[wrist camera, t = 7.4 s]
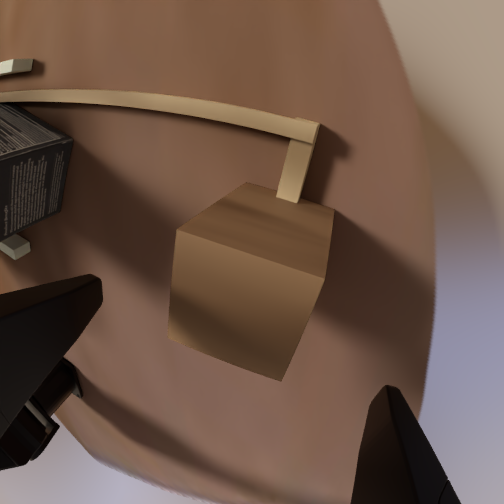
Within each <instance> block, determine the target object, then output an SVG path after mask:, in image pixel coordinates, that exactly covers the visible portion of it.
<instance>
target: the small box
mask: <svg viewBox="0 0 504 504" xmlns="http://www.w3.org/2000/svg"><path fill="white" fill-rule="evenodd" d="M72 145H73V139H72V138H71V137H69V136H67V135H66V134H64V133H63V132H61V131H59V130H57V129H56V128H54V127H52V126H51V125H49V124H47V123H46V122H44V121H42V120H40V119H39V118H37V117H35V116H33V115H32V114H30V113H28V112H27V111H25V110H23V109H21V108H20V107H18V106H16V105H14V104H13V103H11V102H2V103H0V242H2V241H3V240H5V239H7V238H9V237H11V236H13V235H15V234H16V233H18V232H20V231H22V230H24V229H26V228H28V227H30V226H32V225H34V224H36V223H38V222H40V221H42V220H44V219H46V218H48V217H50V216H52V215H55V214H57V213H59V212H60V209H61V203H62V197H63V191H64V185H65V179H66V174H67V168H68V163H69V158H70V154H71V149H72Z"/></svg>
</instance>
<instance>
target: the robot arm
mask: <svg viewBox="0 0 504 504" xmlns="http://www.w3.org/2000/svg"><path fill="white" fill-rule="evenodd" d="M102 302H103V292H102V281H101V279H100V278H98V277H96V276H94V275H92V274H87V275H83V276H78V277H74V278H69V279H65V280H61V281H56V282H52V283H47V284H43V285H39V286H34V287H30V288H26V289H21V290H17V291H13V292H9V293H4V294H0V471H1V470H5V469H9V468H14V467H19V466H23V465H25V464H27V462H28V461H29V460H31V461H32V460H34V459H36V458H37V457H38V456H39V455H40V454H41V453H42V452H43V451H44V449H45V448H46V446H47V445H48V443H49V442H50V440H51V439H52V438H53V436H54V435H55V433H56V432H57V430H58V429H59V427H60V426H59V425H58V424H57V423H56V422H55V421H54V420H53V419H52V418H51V416H52V414H53V413H54V412H55V411H56V410H57V409H58V408H59V407H60V405H61V404H62V403H63V402H64V401H65V400H66V399H67V398H68V397H69V395H70V394H71V393H73V394H74V395H76V396H77V397H79V398H82V397H83V394H82V391H81V388H80V385H79V382H78V379H77V375H76V372H75V369H74V367H73V366H72V365H71V364H70V363H68V362H67V361H65V360H64V359H62V357H63V356H64V355H65V354H66V352H67V351H68V350H69V349H70V348H71V346H72V345H73V344H74V343H75V342H76V340H77V339H78V338H79V336H80V335H81V334H82V332H83V331H84V329H85V328H86V326H87V325H88V323H89V322H90V321H91V319H92V318H93V316H94V315H95V313H96V312H97V311H98V309H99V308H100V306H101V305H102ZM447 479H448V477H447V476H446V474H445V472H444V470H443V468H442V466H441V464H440V462H439V460H438V458H437V456H436V454H435V452H434V451H433V449H432V447H431V445H430V443H429V441H428V440H427V438H426V436H425V434H424V432H423V430H422V428H421V427H420V425H419V423H418V421H417V420H416V418H415V416H414V414H413V412H412V411H411V409H410V407H409V405H408V404H407V402H406V400H405V398H404V397H403V395H402V393H401V392H400V390H399V389H398V388H397V387H394V386H390V385H385V386H384V387H383V388H382V389H381V390H380V391H379V393H378V394H377V395H376V397H375V398H374V399H373V400H372V402H371V404H370V406H369V410H368V415H367V419H366V424H365V428H364V433H363V437H362V441H361V445H360V450H359V455H358V462H357V469H356V475H355V481H354V487H353V493H352V499H351V504H461V503H460V501H459V499H458V497H457V495H456V493H455V491H454V489H453V487H452V485H451V483H450V481H449V480H447Z"/></svg>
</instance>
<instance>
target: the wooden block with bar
mask: <svg viewBox="0 0 504 504" xmlns="http://www.w3.org/2000/svg"><path fill="white" fill-rule="evenodd" d="M21 101H45V102H75V103H91V104H105V105H116V106H126V107H135V108H143V109H151V110H158V111H165V112H172V113H178V114H184V115H190V116H196V117H202V118H207V119H212V120H217V121H222V122H227V123H232V124H237V125H241V126H246V127H250V128H254V129H259V130H263V131H267V132H271V133H275V134H279V135H283V136H286V137H290V138H291V139H290V143H289V147H288V151H287V155H286V159H285V163H284V167H283V171H282V175H281V179H280V183H279V187H278V191H275V190H272V189H268V188H265V187H261V186H258V185H254V184H251V183H247V182H246V183H245V184H243V185H241V186H240V187H238V188H237V189H235V190H234V191H232V192H231V193H229V194H228V195H226V196H225V197H223V198H222V199H220V200H219V201H217V202H216V203H214V204H213V205H211V206H210V207H208V208H207V209H205V210H204V211H202V212H201V213H200V214H198V215H197V216H195V217H194V218H192V219H191V220H189V221H188V222H186V223H185V224H184V225H182V226H181V227H179V228H178V229H177V231H176V240H175V249H174V259H173V269H172V280H171V292H170V306H169V320H168V338H169V339H172V340H174V341H176V342H178V343H181V344H183V345H185V346H188V347H190V348H192V349H195V350H197V351H200V352H202V353H205V354H207V355H210V356H212V357H215V358H217V359H220V360H222V361H225V362H227V363H230V364H233V365H235V366H238V367H241V368H243V369H246V370H249V371H252V372H254V373H257V374H260V375H263V376H266V377H269V378H272V379H275V380H278V381H282V379H283V377H284V375H285V373H286V370H287V368H288V366H289V364H290V362H291V359H292V357H293V355H294V353H295V350H296V348H297V346H298V343H299V341H300V339H301V336H302V334H303V332H304V329H305V327H306V325H307V322H308V320H309V318H310V315H311V313H312V310H313V308H314V305H315V303H316V300H317V298H318V295H319V293H320V290H321V288H322V285H323V283H324V280H325V276H326V269H327V263H328V256H329V249H330V242H331V234H332V227H333V219H334V210H335V209H332V208H329V207H326V206H323V205H320V204H317V203H314V202H311V201H308V200H304V199H301V198H300V196H301V193H302V189H303V186H304V182H305V179H306V175H307V171H308V168H309V164H310V160H311V157H312V153H313V149H314V145H315V142H316V138H317V134H318V130H319V126H320V123H317V122H313V121H310V120H306V119H302V118H298V117H296V119H294V118H290V117H286V116H282V115H278V114H274V113H270V112H265V111H261V110H256V109H252V108H247V107H242V106H237V105H232V104H226V103H221V102H215V101H209V100H203V99H196V98H189V97H182V96H174V95H166V94H157V93H146V92H135V91H121V90H101V89H40V90H22V91H9V92H0V103H2V102H21Z"/></svg>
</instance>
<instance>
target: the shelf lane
mask: <svg viewBox="0 0 504 504" xmlns="http://www.w3.org/2000/svg"><path fill="white" fill-rule="evenodd" d="M32 62H33V59H12V60H8V61H4V62H0V76H2V75H7V74H13V73H19V72H26V71H31V68H32ZM0 250H1V251H3V252H4V253H6V254H7V255H8V256H10V257H11V258H13V259H14V260H17V259H18V258H20V257H22V256H23V255H25V254H27V253H29V252H30V251H31V250H30V242H29V241H27V240H26V239H24V238H22V237H20V236H19V235H17V234H15V235H13V236H11V237H9V238H7V239H5V240H3V241H2V242H0Z"/></svg>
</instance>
